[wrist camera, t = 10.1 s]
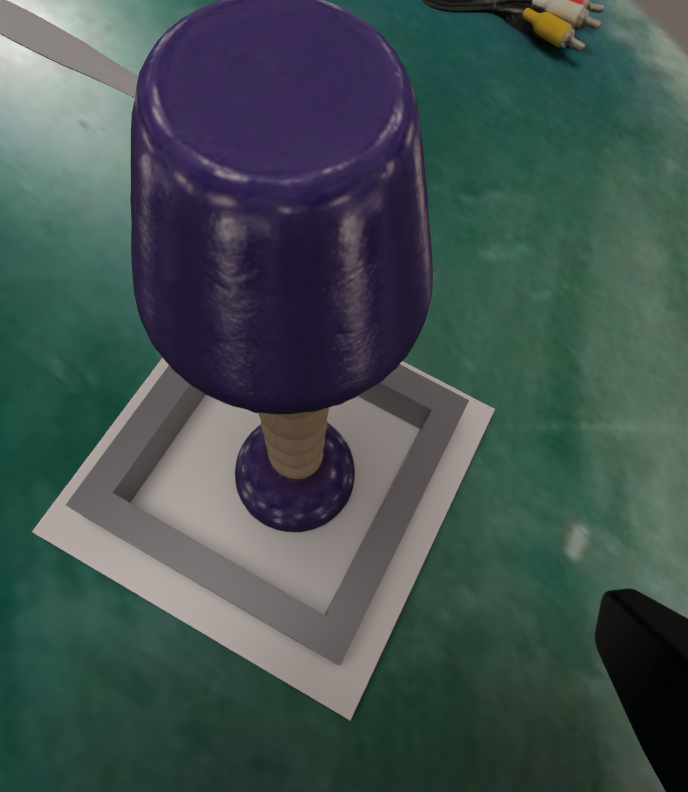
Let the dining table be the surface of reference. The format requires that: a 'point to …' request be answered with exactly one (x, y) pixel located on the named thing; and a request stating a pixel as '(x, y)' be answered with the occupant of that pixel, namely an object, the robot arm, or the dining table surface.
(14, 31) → the butter knife
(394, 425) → the socket plate
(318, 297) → the toy lamp
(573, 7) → the composite cable
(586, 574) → the dining table surface
